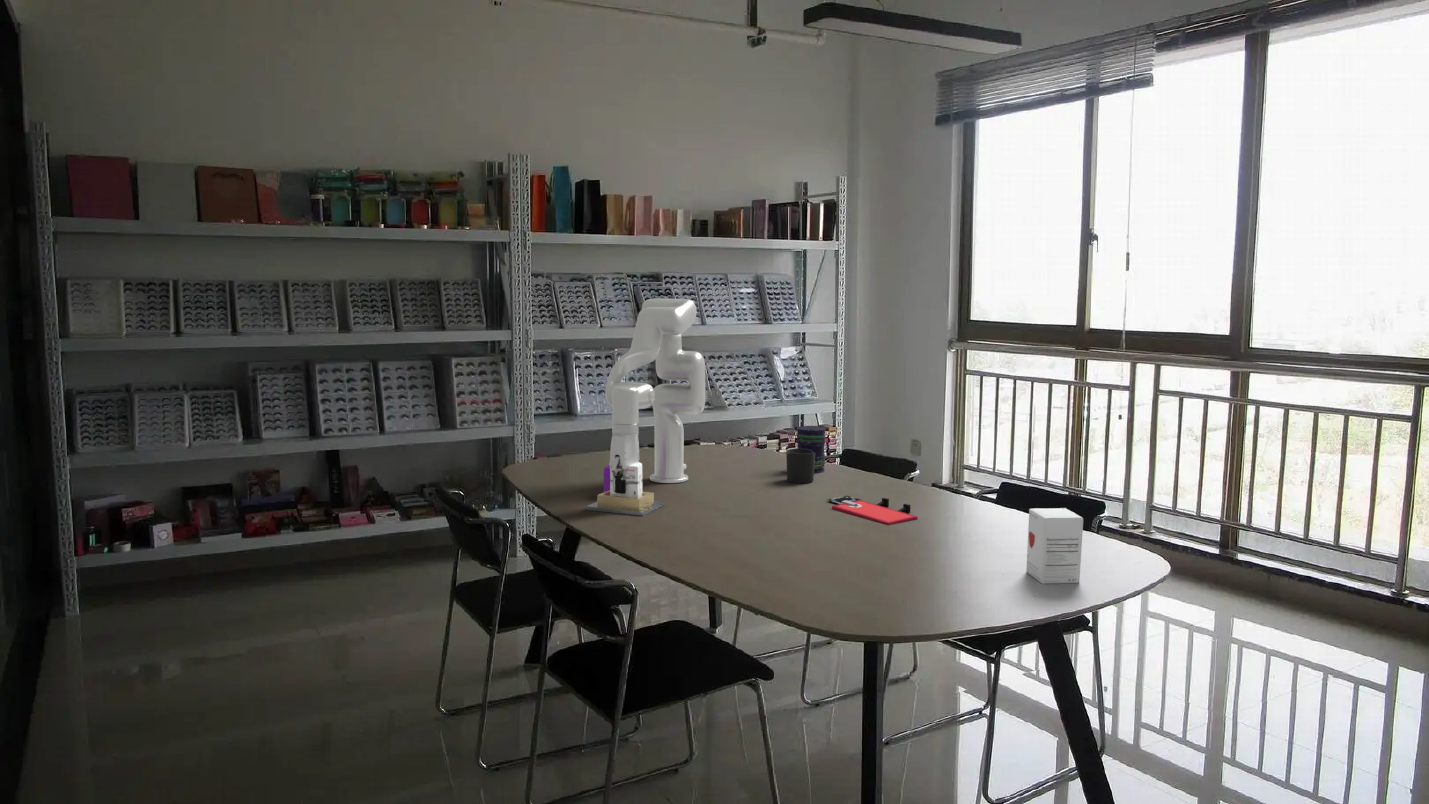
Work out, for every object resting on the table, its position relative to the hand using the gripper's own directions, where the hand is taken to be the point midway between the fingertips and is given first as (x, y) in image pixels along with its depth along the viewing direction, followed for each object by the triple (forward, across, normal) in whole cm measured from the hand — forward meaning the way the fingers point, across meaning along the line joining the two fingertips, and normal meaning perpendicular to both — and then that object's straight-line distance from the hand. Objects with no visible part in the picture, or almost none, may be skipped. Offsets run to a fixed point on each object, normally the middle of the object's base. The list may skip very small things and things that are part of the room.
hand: (625, 490), depth 281 cm
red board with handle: (+6, -25, +65) cm, 70 cm away
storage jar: (+6, -74, +33) cm, 81 cm away
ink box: (+4, 0, 0) cm, 4 cm away
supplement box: (+5, +20, +118) cm, 120 cm away
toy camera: (+5, -16, -9) cm, 19 cm away
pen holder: (+5, -56, +35) cm, 66 cm away
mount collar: (+5, 0, 0) cm, 5 cm away
